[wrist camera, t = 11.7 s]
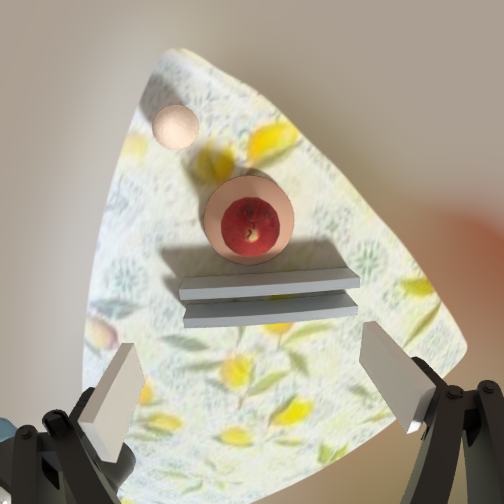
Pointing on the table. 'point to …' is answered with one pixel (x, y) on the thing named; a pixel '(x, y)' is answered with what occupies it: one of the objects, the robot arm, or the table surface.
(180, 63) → the table surface
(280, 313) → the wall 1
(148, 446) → the table surface
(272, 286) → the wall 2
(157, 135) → the egg
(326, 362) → the table surface
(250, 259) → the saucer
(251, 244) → the onion
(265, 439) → the table surface
